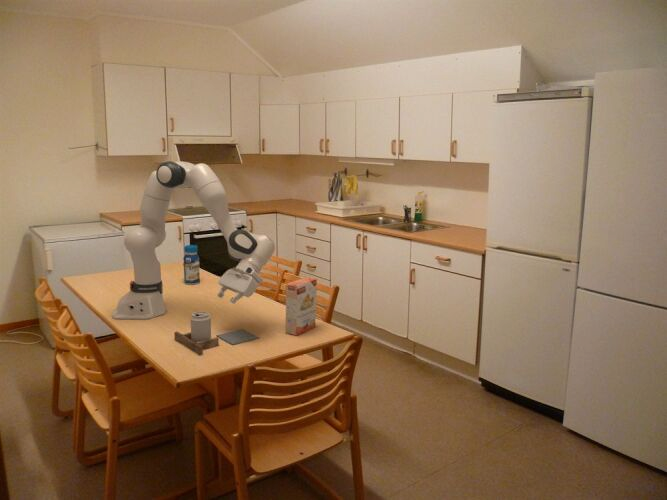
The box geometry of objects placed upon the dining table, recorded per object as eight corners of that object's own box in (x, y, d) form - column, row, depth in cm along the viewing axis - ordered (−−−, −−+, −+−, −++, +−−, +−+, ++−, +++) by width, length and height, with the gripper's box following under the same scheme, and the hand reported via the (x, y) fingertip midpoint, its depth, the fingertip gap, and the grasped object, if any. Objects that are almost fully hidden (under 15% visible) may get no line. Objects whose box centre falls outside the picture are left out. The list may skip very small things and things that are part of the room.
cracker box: (297, 336, 225) (297, 285, 221) (284, 333, 228) (285, 283, 224) (316, 326, 237) (317, 278, 233) (304, 324, 240) (305, 276, 236)
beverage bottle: (193, 280, 306) (191, 243, 302) (203, 282, 302) (202, 245, 297) (180, 283, 300) (179, 246, 296) (191, 285, 295) (189, 248, 291)
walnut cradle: (199, 355, 205) (199, 347, 204) (174, 339, 219) (174, 332, 219) (224, 348, 211) (223, 341, 210) (198, 333, 226) (197, 326, 225)
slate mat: (232, 345, 215) (232, 343, 214) (216, 336, 223) (216, 335, 223) (259, 338, 222) (259, 336, 222) (242, 330, 231) (242, 328, 231)
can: (192, 340, 219) (191, 310, 217) (212, 339, 220) (211, 310, 217) (189, 347, 212) (188, 316, 209) (209, 347, 213) (209, 316, 210)
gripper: (227, 262, 230) (206, 289, 225) (256, 271, 215) (234, 301, 211) (237, 271, 234) (216, 298, 229) (265, 281, 219) (244, 310, 214)
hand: (225, 299), depth 220 cm, fingers open, 8 cm apart
